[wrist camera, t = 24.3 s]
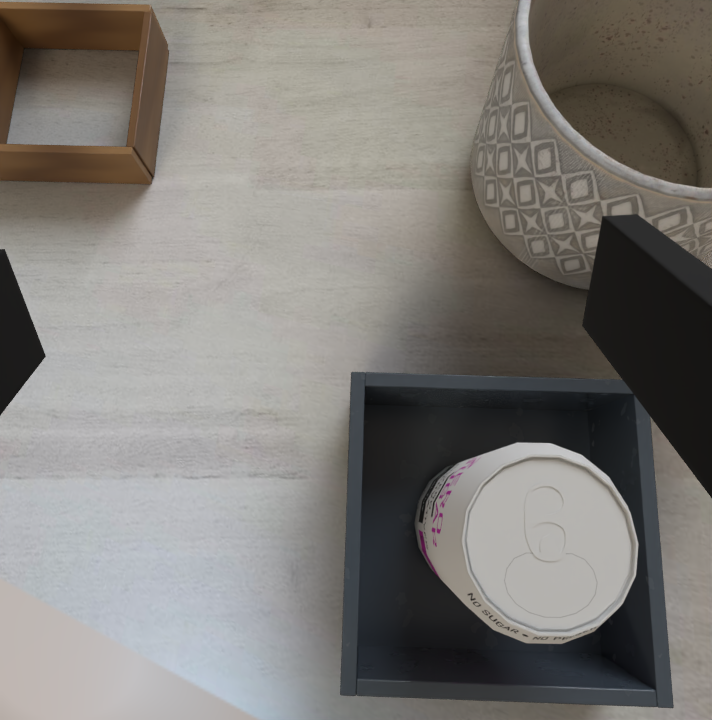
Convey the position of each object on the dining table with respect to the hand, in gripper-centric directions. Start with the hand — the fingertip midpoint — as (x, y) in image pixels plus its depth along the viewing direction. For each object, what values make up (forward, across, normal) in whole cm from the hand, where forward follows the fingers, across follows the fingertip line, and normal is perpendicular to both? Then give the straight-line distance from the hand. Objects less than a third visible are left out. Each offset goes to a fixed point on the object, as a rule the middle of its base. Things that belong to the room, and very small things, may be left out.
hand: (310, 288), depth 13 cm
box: (+38, -19, -2) cm, 42 cm away
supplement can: (+14, +8, -24) cm, 29 cm away
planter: (+32, +20, -7) cm, 38 cm away
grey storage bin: (+14, +8, -24) cm, 29 cm away
